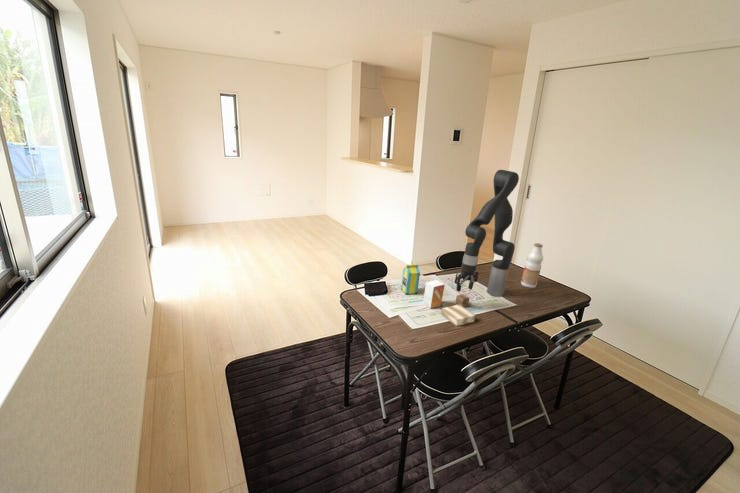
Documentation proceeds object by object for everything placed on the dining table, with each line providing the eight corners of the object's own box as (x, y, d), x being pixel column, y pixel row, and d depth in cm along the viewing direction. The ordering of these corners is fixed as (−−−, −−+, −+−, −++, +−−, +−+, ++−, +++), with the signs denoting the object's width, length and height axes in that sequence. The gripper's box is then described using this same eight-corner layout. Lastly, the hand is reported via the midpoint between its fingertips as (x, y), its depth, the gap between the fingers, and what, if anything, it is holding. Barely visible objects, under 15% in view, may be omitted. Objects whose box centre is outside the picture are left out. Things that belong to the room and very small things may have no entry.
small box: (430, 309, 185) (433, 286, 181) (422, 303, 190) (425, 282, 186) (441, 305, 190) (445, 284, 186) (433, 300, 195) (436, 279, 190)
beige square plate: (458, 310, 187) (459, 304, 185) (474, 322, 177) (475, 315, 176) (440, 315, 181) (441, 308, 180) (456, 326, 171) (457, 319, 170)
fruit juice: (526, 288, 221) (537, 246, 211) (517, 282, 229) (527, 241, 220) (539, 288, 223) (550, 246, 214) (529, 281, 231) (540, 241, 222)
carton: (411, 287, 208) (415, 259, 202) (417, 293, 201) (421, 265, 195) (400, 288, 206) (403, 260, 200) (405, 294, 199) (409, 265, 193)
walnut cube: (461, 302, 196) (463, 294, 194) (468, 306, 192) (469, 298, 190) (455, 303, 194) (456, 295, 192) (461, 307, 190) (462, 299, 188)
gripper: (474, 258, 191) (469, 285, 196) (454, 261, 184) (449, 288, 189) (484, 263, 185) (478, 291, 190) (464, 266, 178) (459, 294, 183)
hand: (464, 290), depth 189 cm, fingers open, 8 cm apart
